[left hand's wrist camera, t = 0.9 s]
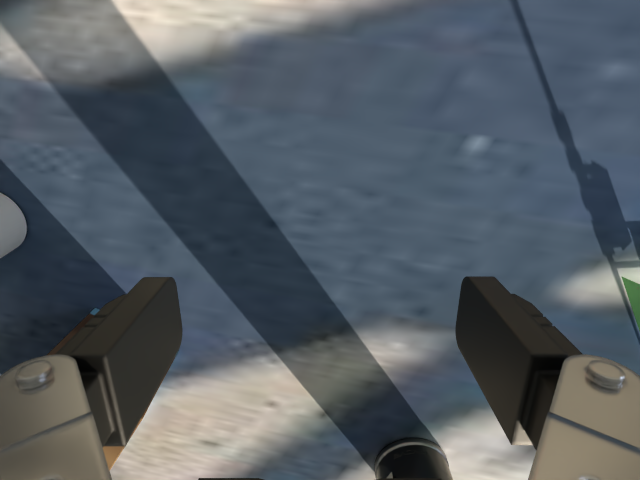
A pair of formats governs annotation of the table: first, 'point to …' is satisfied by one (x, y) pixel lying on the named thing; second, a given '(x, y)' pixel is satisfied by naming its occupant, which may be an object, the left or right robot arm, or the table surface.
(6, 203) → the coffee cup
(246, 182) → the table surface
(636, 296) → the toy game set
